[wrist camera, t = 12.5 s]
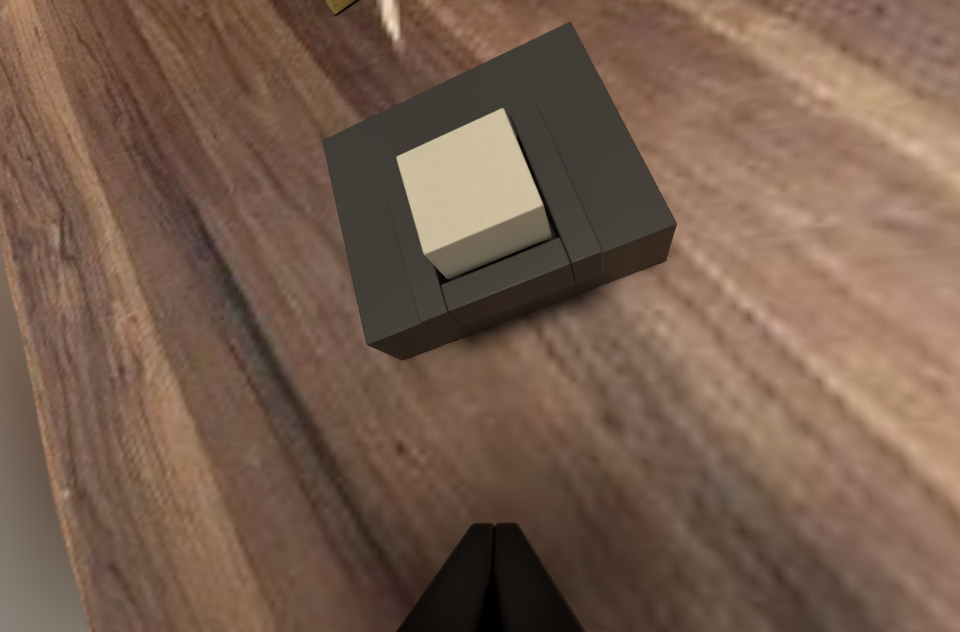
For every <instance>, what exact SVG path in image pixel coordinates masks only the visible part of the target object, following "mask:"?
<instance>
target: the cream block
mask: <svg viewBox="0 0 960 632" xmlns="http://www.w3.org/2000/svg"><path fill="white" fill-rule="evenodd" d="M396 159H397V162H398V166H399V169H400V173H401V176H402V180H403V183H404V187H405V190H406V194H407V198H408V201H409V205H410V208H411V212H412V215H413V219H414V222H415V226H416V229H417V233H418V236H419V240H420V243H421V247H422V250H423V254H424V255H425V256H426V257H427V258H428V259H429V260H430V261H431V262H432V263H433V264H434V265H435V267H436V268H437V269H438V270H439V271H440V272H441V273H442V274H443V275H444V276H445V277H446V278H447V279H450V278H453V277H455V276H458V275H460V274H463V273H465V272H468V271H470V270H473V269H475V268H478V267H480V266H483V265H485V264H488V263H490V262H493V261H495V260H498V259H500V258H502V257H505V256H507V255H510V254H512V253H515V252H517V251H520V250H522V249H525V248H527V247H530V246H532V245H535V244H537V243H540V242H542V241H545V240H547V239H550V238H551V237H552V235H551V231H550V227H549V224H548V220H547V216H546V213H545V209H544V205H543V202H542V200H541V198H540V195H539V193H538V190H537V188H536V185H535V183H534V180H533V178H532V176H531V173H530V171H529V168H528V166H527V163H526V161H525V159H524V156H523V154H522V151H521V149H520V146H519V144H518V141H517V139H516V137H515V134H514V132H513V129H512V127H511V124H510V122H509V120H508V117H507V115H506V112H505V110H504V109H503V108H501V109H499V110H497V111H495V112H493V113H490V114H488V115H486V116H484V117H482V118H480V119H477V120H475V121H473V122H471V123H469V124H466V125H464V126H462V127H460V128H458V129H456V130H453V131H451V132H449V133H447V134H445V135H443V136H440V137H438V138H436V139H434V140H432V141H429V142H427V143H425V144H423V145H421V146H419V147H416V148H414V149H412V150H410V151H408V152H405V153H403V154H401V155H399V156H397V157H396Z"/></svg>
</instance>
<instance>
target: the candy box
mask: <svg viewBox="0 0 960 632" xmlns="http://www.w3.org/2000/svg"><path fill="white" fill-rule="evenodd" d="M325 1H326V3H327V4H328V6H329V8H330V9H331V10H332V12H333V13H334V14H337V13H338V12H340V11H341V10H342V9H344V8H345V7H347V6H348V5H350V4H351V3H353V2H354V1H356V0H325Z"/></svg>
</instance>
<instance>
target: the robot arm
mask: <svg viewBox="0 0 960 632" xmlns="http://www.w3.org/2000/svg"><path fill="white" fill-rule="evenodd" d="M396 632H586V631H585V629H584V628H583V626H582V625H581V623H580V622H579V620H578V618H577V617H576V615H575V614H574V612H573V610H572V609H571V607H570V606H569V604H568V602H567V601H566V599H565V598H564V596H563V595H562V593H561V591H560V590H559V588H558V587H557V585H556V583H555V582H554V580H553V579H552V577H551V575H550V574H549V572H548V571H547V569H546V568H545V566H544V564H543V563H542V561H541V560H540V558H539V556H538V555H537V553H536V552H535V550H534V549H533V547H532V545H531V544H530V542H529V541H528V539H527V537H526V536H525V534H524V533H523V531H522V529H521V528H520V526H519V525H518V524H517V523H514V522H509V523H497V524H496V525H495V526H494V524H492V523H474V524H472V525H471V526H470V528H469V529H468V530H467V532H466V533H465V535H464V536H463V537H462V539H461V540H460V542H459V543H458V545H457V546H456V547H455V549H454V550H453V552H452V553H451V555H450V556H449V557H448V559H447V560H446V562H445V563H444V565H443V566H442V567H441V569H440V570H439V572H438V573H437V574H436V576H435V577H434V579H433V580H432V582H431V583H430V584H429V586H428V587H427V589H426V590H425V592H424V593H423V594H422V596H421V597H420V599H419V600H418V602H417V603H416V604H415V606H414V607H413V609H412V610H411V612H410V613H409V614H408V616H407V617H406V619H405V620H404V621H403V623H402V624H401V626H400V627H399V629H398V630H397V631H396Z"/></svg>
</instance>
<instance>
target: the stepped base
mask: <svg viewBox="0 0 960 632" xmlns="http://www.w3.org/2000/svg"><path fill="white" fill-rule="evenodd" d="M501 108H503V109H504V110H505V112H506V115H507V117H508V120H509V122H510V124H511V127H512V129H513V132H514V134H515V137H516V139H517V141H518V144H519V146H520V149H521V151H522V154H523V156H524V159H525V161H526V163H527V166H528V168H529V171H530V173H531V176H532V178H533V180H534V183H535V185H536V188H537V190H538V193H539V195H540V198H541V200H542V202H543V205H544V209H545V213H546V216H547V220H548V224H549V227H550V231H551V235H552V237H551V238H550V239H547V240H545V241H542V242H540V243H537V244H535V245H532V246H530V247H527V248H525V249H522V250H520V251H517V252H515V253H512V254H510V255H507V256H505V257H502V258H500V259H498V260H495V261H493V262H490V263H488V264H485V265H483V266H480V267H478V268H475V269H473V270H470V271H468V272H465V273H463V274H460V275H458V276H455V277H453V278H450V279H447V278H446V277H445V276H444V275H443V274H442V273H441V272H440V271H439V270H438V269H437V268H436V267H435V265H434V264H433V263H432V262H431V261H430V260H429V259H428V258H427V257H426V256H425V255H424V254H423V250H422V247H421V243H420V240H419V236H418V233H417V229H416V226H415V222H414V219H413V215H412V212H411V208H410V205H409V201H408V198H407V194H406V190H405V187H404V183H403V180H402V176H401V173H400V169H399V166H398V162H397V159H396V157H397V156H399V155H401V154H403V153H405V152H408V151H410V150H412V149H414V148H416V147H419V146H421V145H423V144H425V143H427V142H429V141H432V140H434V139H436V138H438V137H440V136H443V135H445V134H447V133H449V132H451V131H453V130H456V129H458V128H460V127H462V126H464V125H466V124H469V123H471V122H473V121H475V120H477V119H480V118H482V117H484V116H486V115H488V114H490V113H493V112H495V111H497V110H499V109H501ZM323 145H324V150H325V155H326V159H327V164H328V169H329V173H330V178H331V182H332V187H333V192H334V196H335V201H336V206H337V210H338V215H339V219H340V224H341V229H342V233H343V238H344V243H345V247H346V252H347V256H348V261H349V266H350V270H351V275H352V279H353V284H354V289H355V293H356V298H357V303H358V307H359V312H360V316H361V321H362V326H363V330H364V335H365V340H366V344H367V345H368V346H370V347H373V348H375V349H377V350H380V351H382V352H384V353H387V354H389V355H391V356H393V357H396V358H398V359H400V360H405V359H407V358H410V357H413V356H415V355H418V354H420V353H423V352H426V351H428V350H431V349H434V348H436V347H439V346H442V345H444V344H447V343H450V342H452V341H455V340H457V339H460V338H463V337H465V336H468V335H471V334H473V333H476V332H479V331H481V330H484V329H486V328H489V327H492V326H494V325H497V324H500V323H502V322H505V321H508V320H510V319H513V318H516V317H518V316H521V315H523V314H526V313H529V312H531V311H534V310H537V309H539V308H542V307H545V306H547V305H550V304H553V303H555V302H558V301H560V300H563V299H566V298H568V297H571V296H574V295H576V294H579V293H582V292H584V291H587V290H590V289H592V288H595V287H597V286H600V285H603V284H605V283H608V282H611V281H613V280H616V279H619V278H621V277H624V276H627V275H629V274H632V273H634V272H637V271H640V270H642V269H645V268H648V267H650V266H653V265H656V264H658V263H661V262H664V261H666V259H667V256H668V252H669V249H670V245H671V242H672V239H673V235H674V232H675V229H676V225H677V223H676V221H675V219H674V217H673V215H672V213H671V212H670V210H669V208H668V206H667V204H666V202H665V200H664V198H663V196H662V194H661V193H660V191H659V189H658V187H657V185H656V183H655V181H654V179H653V177H652V175H651V173H650V172H649V170H648V168H647V166H646V164H645V162H644V160H643V158H642V156H641V154H640V153H639V151H638V149H637V147H636V145H635V143H634V141H633V139H632V137H631V135H630V134H629V132H628V130H627V128H626V126H625V124H624V122H623V120H622V118H621V116H620V115H619V113H618V111H617V109H616V107H615V105H614V103H613V101H612V99H611V97H610V96H609V94H608V92H607V90H606V88H605V86H604V84H603V82H602V80H601V78H600V77H599V75H598V73H597V71H596V69H595V67H594V65H593V63H592V61H591V59H590V57H589V56H588V54H587V52H586V50H585V48H584V46H583V44H582V42H581V40H580V38H579V37H578V35H577V33H576V31H575V29H574V27H573V25H572V23H571V22H569V23H567V24H565V25H562V26H560V27H558V28H556V29H554V30H552V31H550V32H548V33H546V34H544V35H542V36H540V37H537V38H535V39H533V40H531V41H529V42H527V43H525V44H523V45H521V46H519V47H517V48H514V49H512V50H510V51H508V52H506V53H504V54H502V55H500V56H498V57H496V58H494V59H492V60H489V61H487V62H485V63H483V64H481V65H479V66H477V67H475V68H473V69H471V70H469V71H466V72H464V73H462V74H460V75H458V76H456V77H454V78H452V79H450V80H448V81H446V82H444V83H441V84H439V85H437V86H435V87H433V88H431V89H429V90H427V91H425V92H423V93H421V94H418V95H416V96H414V97H412V98H410V99H408V100H406V101H404V102H402V103H400V104H398V105H396V106H393V107H391V108H389V109H387V110H385V111H383V112H381V113H379V114H377V115H375V116H373V117H370V118H368V119H366V120H364V121H362V122H360V123H358V124H356V125H354V126H352V127H350V128H348V129H345V130H343V131H341V132H339V133H337V134H335V135H333V136H331V137H329V138H327V139H325V140H323Z"/></svg>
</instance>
